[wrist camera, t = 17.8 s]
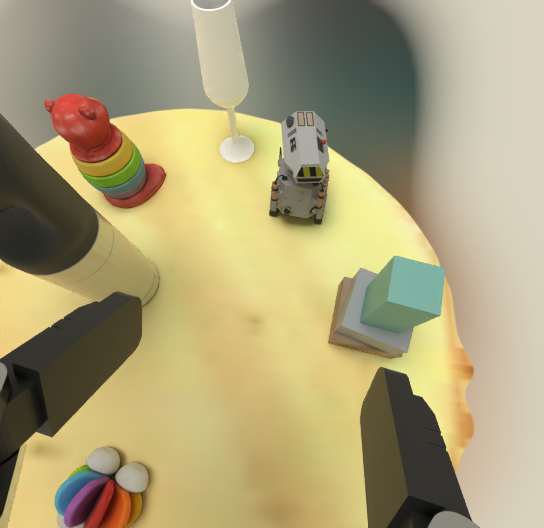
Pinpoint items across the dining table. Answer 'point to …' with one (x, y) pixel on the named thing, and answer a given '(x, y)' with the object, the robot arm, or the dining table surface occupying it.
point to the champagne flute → (223, 68)
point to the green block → (403, 295)
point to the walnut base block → (343, 339)
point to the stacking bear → (104, 151)
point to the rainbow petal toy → (101, 493)
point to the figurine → (302, 168)
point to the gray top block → (364, 332)
